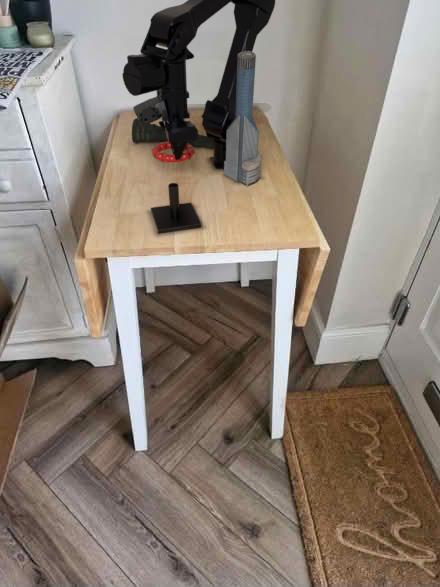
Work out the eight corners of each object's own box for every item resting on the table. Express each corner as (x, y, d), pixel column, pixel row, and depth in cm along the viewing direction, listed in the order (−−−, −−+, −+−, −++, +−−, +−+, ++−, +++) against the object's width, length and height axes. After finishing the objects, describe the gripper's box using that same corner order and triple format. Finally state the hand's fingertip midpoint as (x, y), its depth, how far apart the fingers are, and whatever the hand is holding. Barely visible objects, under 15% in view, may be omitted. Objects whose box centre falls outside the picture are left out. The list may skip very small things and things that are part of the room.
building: (258, 187, 102) (269, 45, 82) (220, 184, 103) (223, 42, 83) (262, 168, 110) (273, 34, 90) (227, 165, 111) (230, 32, 91)
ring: (149, 149, 105) (148, 142, 104) (189, 145, 107) (188, 138, 106) (156, 165, 98) (155, 158, 96) (198, 161, 100) (198, 153, 99)
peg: (151, 211, 93) (147, 177, 88) (191, 206, 95) (190, 172, 90) (158, 234, 87) (154, 198, 81) (201, 227, 88) (200, 192, 83)
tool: (130, 147, 119) (126, 122, 114) (137, 137, 123) (134, 114, 119) (227, 155, 116) (228, 131, 111) (231, 146, 120) (232, 122, 116)
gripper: (128, 75, 93) (136, 145, 104) (140, 102, 80) (148, 179, 90) (178, 72, 96) (181, 141, 106) (198, 98, 82) (199, 173, 93)
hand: (176, 157), depth 99 cm, fingers closed on ring, 2 cm apart
